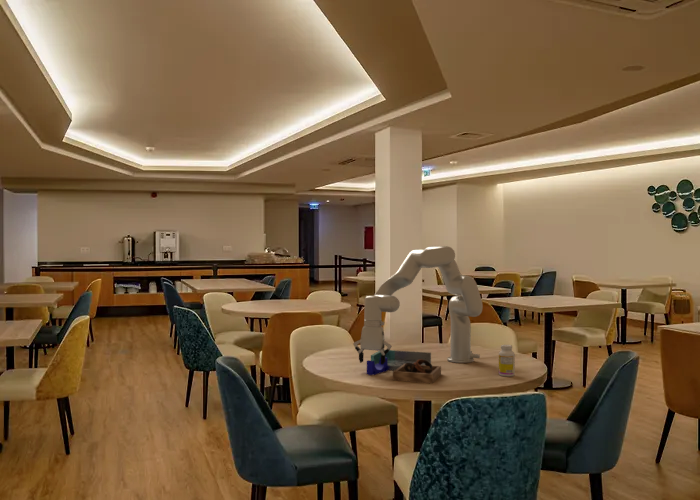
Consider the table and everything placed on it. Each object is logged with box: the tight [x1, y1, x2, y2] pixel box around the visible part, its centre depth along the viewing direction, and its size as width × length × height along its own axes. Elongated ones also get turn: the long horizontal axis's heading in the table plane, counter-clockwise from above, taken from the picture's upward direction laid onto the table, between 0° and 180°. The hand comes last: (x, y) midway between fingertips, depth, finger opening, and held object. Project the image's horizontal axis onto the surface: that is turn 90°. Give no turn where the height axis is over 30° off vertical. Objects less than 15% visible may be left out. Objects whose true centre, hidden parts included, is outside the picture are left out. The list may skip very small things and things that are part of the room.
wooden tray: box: [392, 364, 442, 384], centre depth 257 cm, size 16×18×4 cm
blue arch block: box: [366, 357, 388, 376], centre depth 267 cm, size 12×4×6 cm, turn 144°
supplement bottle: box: [498, 344, 516, 378], centre depth 262 cm, size 7×7×13 cm
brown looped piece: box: [404, 359, 434, 374], centre depth 258 cm, size 12×10×8 cm
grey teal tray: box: [370, 349, 432, 371], centre depth 279 cm, size 24×17×6 cm
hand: (371, 363), depth 268 cm, fingers open, 9 cm apart
